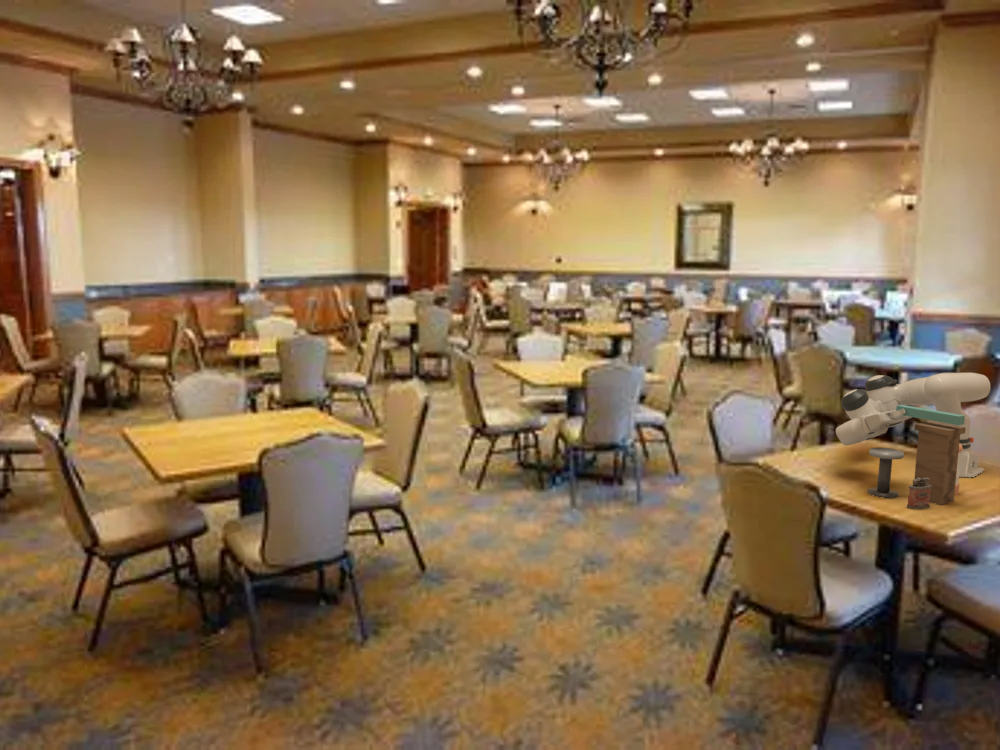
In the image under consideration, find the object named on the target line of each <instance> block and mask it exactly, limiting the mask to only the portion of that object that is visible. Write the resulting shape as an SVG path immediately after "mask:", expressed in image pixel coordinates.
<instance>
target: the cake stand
mask: <svg viewBox="0 0 1000 750" xmlns="http://www.w3.org/2000/svg"><path fill="white" fill-rule="evenodd" d="M868 455H869V456H871V457H874V458H878V459H879V460H878V461H879V462H878V463H879V464H878V474H877V486H876V487H869V488H867V492H868V493H869V494H868V493H867V494H868V495H870V494H871V495H870V496H872V495H874V496H873V497H875V496H878V497H877V498H880V497H884V498H883V499H897V498H899V497H898V496H900V493H899V491H897V490H894V489H891V479H892V477H891V476H892V468H893V467H892V466H893V460H902V459H904V457H905V452H904V451H902V450H900V449H895V448H890V447H871V448H869V451H868ZM896 497H897V498H896Z"/></svg>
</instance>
